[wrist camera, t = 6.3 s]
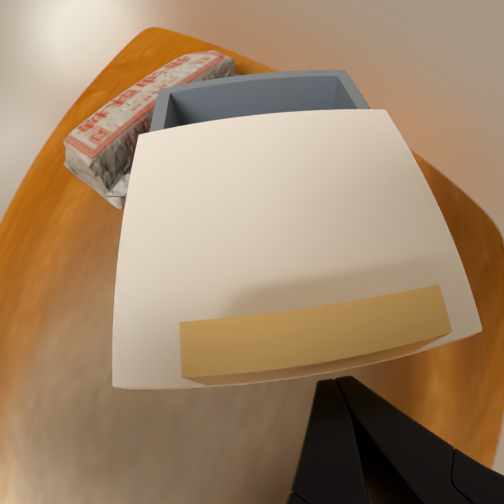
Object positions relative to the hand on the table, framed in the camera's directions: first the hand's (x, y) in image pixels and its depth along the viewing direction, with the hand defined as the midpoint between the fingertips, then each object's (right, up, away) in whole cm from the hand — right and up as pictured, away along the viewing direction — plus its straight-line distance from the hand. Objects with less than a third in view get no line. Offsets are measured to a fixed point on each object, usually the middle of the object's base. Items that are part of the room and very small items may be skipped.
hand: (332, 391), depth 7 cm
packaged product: (-10, +15, +20) cm, 27 cm away
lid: (-1, +4, +5) cm, 6 cm away
